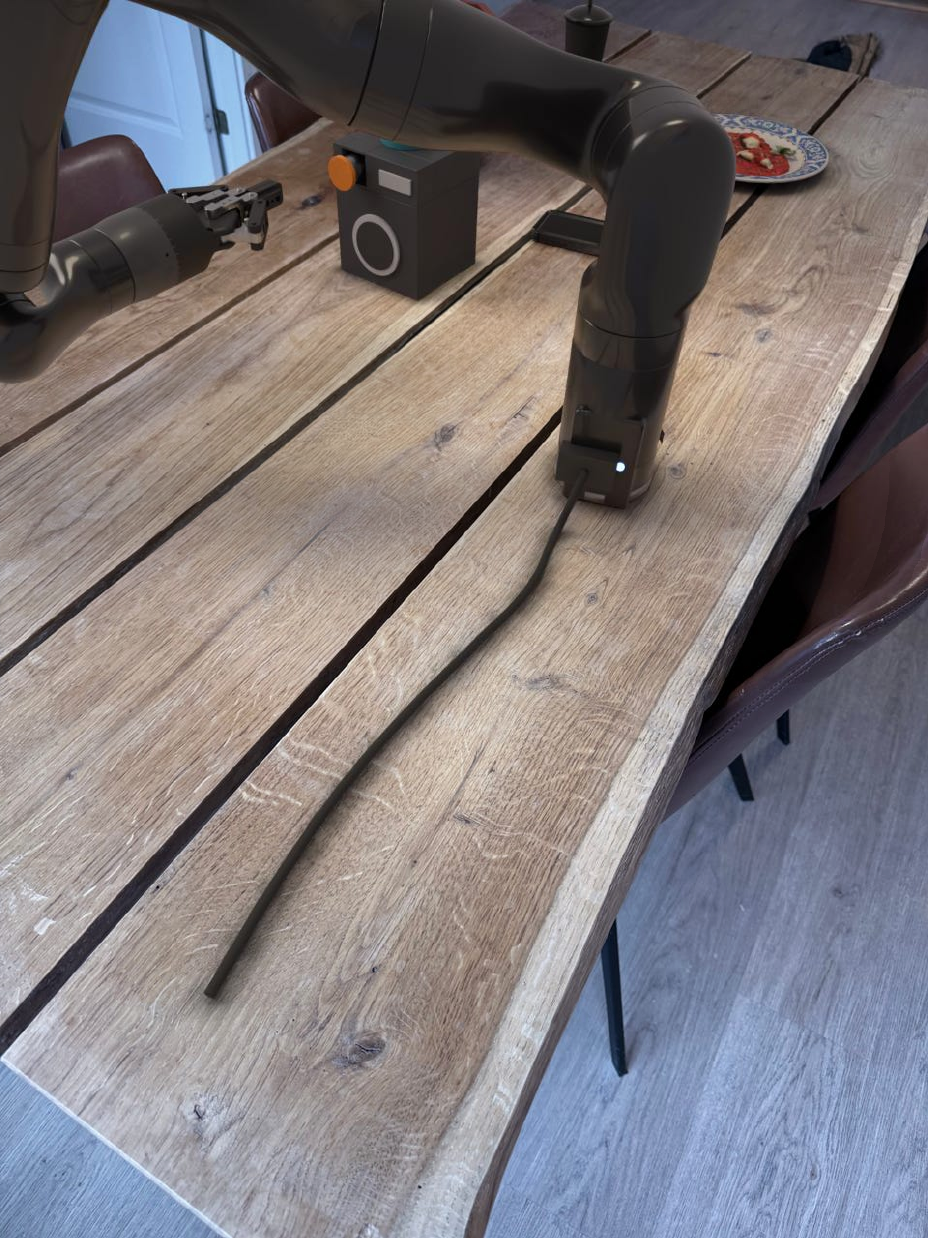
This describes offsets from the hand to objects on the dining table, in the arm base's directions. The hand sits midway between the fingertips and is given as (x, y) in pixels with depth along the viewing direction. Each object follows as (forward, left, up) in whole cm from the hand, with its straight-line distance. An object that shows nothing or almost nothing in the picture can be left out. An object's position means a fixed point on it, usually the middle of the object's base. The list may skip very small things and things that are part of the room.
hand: (277, 190), depth 94 cm
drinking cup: (+78, -18, -15) cm, 81 cm away
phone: (+31, -29, -14) cm, 45 cm away
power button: (+11, -4, -3) cm, 12 cm away
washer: (+16, -9, -14) cm, 23 cm away
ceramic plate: (+66, -46, -15) cm, 82 cm away
